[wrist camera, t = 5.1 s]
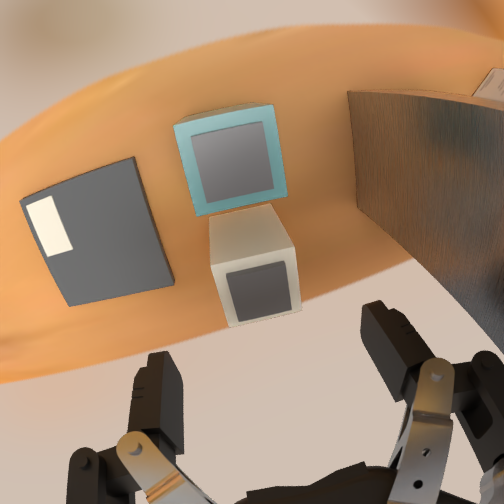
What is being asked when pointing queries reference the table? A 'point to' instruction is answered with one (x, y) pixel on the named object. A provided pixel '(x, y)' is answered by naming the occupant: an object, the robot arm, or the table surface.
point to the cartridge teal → (231, 157)
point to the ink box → (492, 86)
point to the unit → (438, 188)
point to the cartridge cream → (253, 265)
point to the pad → (99, 235)
